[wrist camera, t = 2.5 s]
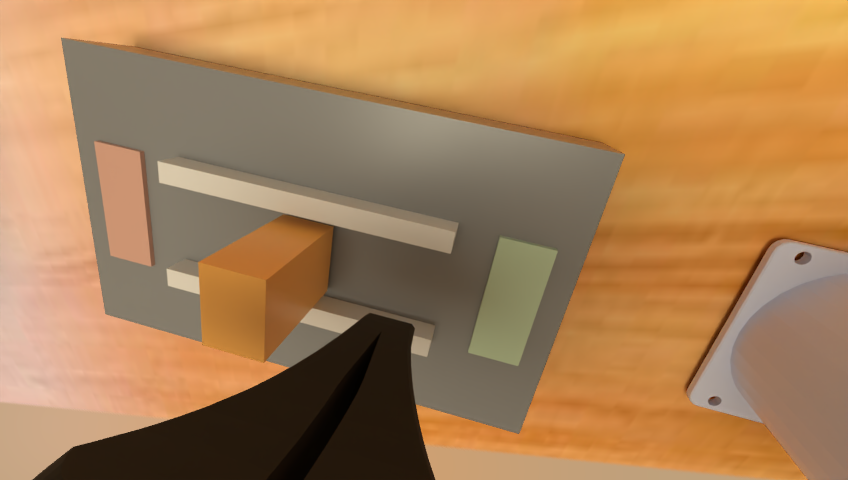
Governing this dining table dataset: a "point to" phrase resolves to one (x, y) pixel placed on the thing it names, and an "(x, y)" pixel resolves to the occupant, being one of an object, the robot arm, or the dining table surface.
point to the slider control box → (340, 212)
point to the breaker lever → (263, 286)
